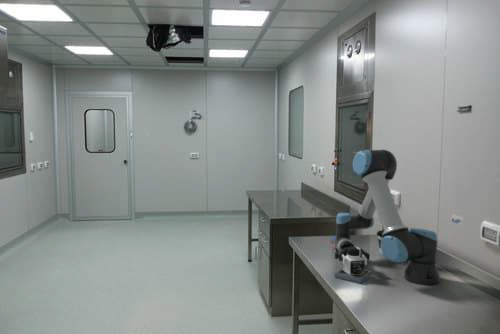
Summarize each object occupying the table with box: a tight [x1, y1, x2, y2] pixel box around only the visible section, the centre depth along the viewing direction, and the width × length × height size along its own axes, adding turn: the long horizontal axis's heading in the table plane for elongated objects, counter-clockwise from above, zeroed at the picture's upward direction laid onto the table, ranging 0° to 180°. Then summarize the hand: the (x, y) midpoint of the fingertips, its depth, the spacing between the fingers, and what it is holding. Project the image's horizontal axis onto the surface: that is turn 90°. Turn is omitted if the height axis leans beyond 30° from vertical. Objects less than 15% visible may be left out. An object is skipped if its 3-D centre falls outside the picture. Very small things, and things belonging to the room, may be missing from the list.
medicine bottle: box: [342, 245, 365, 275], centre depth 190 cm, size 7×7×12 cm
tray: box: [334, 267, 372, 285], centre depth 191 cm, size 13×13×2 cm
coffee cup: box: [376, 229, 384, 256], centre depth 228 cm, size 11×11×12 cm
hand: (355, 261), depth 186 cm, fingers closed on medicine bottle, 9 cm apart
